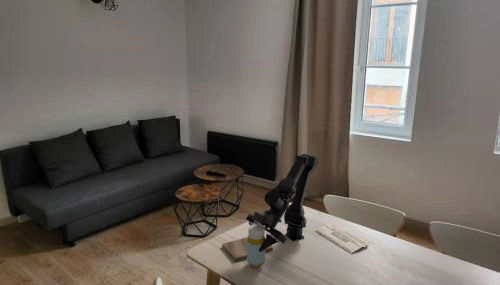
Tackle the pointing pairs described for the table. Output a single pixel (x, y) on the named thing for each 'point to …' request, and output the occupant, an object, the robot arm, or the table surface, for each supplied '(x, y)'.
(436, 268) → the table surface
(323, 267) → the table surface
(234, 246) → the brown rectangular board
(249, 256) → the bottle
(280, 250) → the table surface
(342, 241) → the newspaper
